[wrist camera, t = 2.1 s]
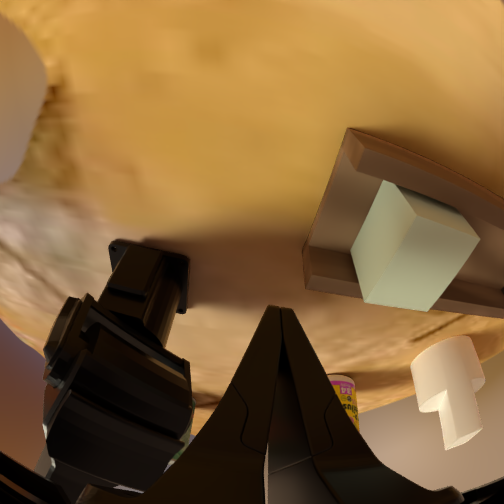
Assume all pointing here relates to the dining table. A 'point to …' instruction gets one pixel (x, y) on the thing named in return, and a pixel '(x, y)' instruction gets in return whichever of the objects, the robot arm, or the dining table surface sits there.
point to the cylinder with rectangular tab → (450, 387)
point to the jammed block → (410, 248)
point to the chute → (422, 181)
